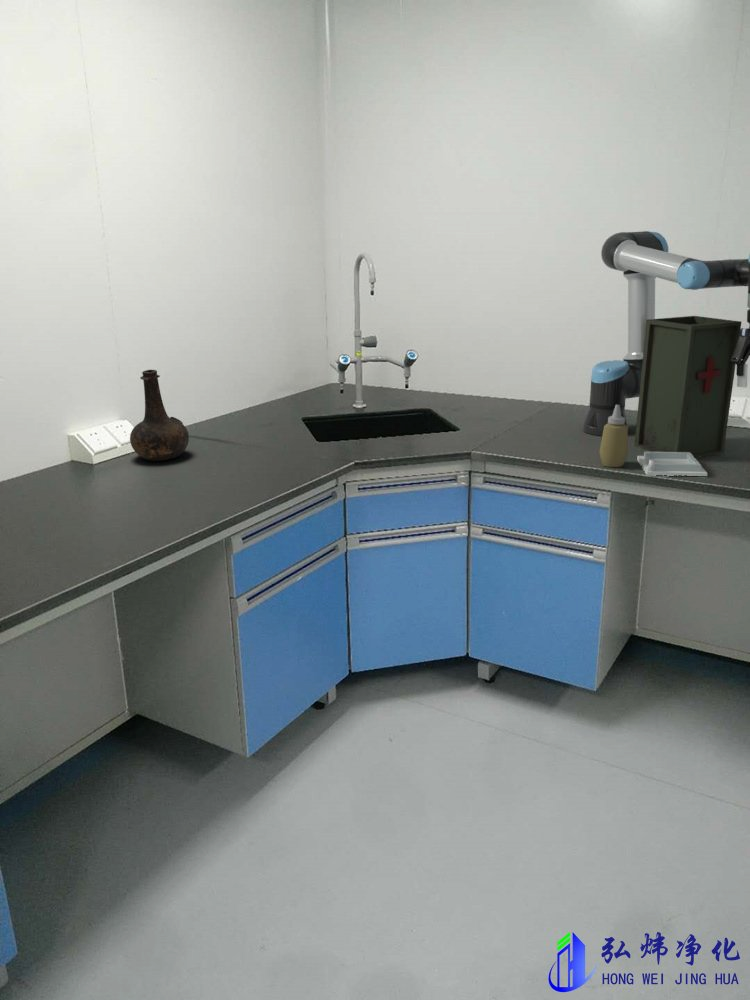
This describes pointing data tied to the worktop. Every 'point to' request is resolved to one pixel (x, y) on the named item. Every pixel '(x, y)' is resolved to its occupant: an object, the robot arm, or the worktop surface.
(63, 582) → the worktop surface
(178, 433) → the glass bottle
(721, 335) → the first aid box
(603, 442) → the squeeze bottle
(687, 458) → the holder plate
